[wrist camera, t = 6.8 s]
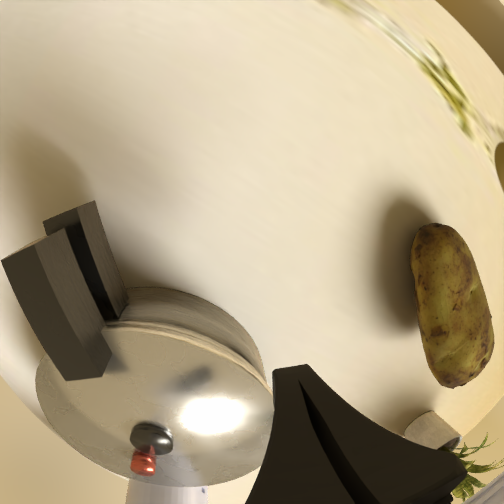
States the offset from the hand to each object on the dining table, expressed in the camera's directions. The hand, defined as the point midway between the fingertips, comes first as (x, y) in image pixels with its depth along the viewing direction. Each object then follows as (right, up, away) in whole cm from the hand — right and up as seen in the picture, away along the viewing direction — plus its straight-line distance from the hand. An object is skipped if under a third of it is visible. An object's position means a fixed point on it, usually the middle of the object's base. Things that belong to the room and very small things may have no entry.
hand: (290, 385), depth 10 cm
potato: (+13, +2, +11) cm, 18 cm away
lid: (-9, -4, +5) cm, 11 cm away
